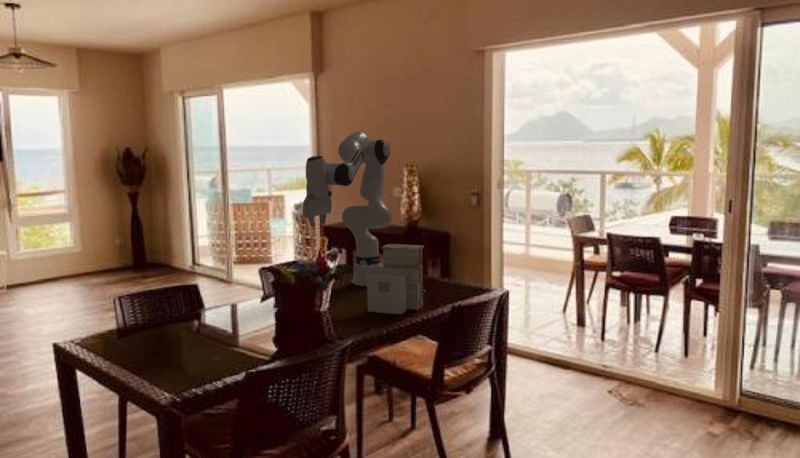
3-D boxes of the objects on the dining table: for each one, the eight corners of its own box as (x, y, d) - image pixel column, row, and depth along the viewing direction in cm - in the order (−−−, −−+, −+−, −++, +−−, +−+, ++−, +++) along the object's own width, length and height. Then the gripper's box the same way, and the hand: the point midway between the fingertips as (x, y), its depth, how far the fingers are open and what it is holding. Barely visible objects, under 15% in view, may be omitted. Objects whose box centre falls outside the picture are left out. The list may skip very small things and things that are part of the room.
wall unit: (389, 302, 264) (388, 244, 261) (424, 305, 259) (423, 245, 256) (382, 307, 257) (381, 246, 254) (418, 310, 252) (417, 248, 248)
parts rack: (372, 307, 257) (371, 270, 255) (408, 310, 252) (407, 272, 249) (366, 311, 251) (365, 273, 248) (402, 314, 245) (401, 276, 243)
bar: (353, 272, 252) (353, 265, 252) (356, 270, 255) (356, 264, 255) (403, 275, 245) (402, 268, 244) (405, 273, 248) (405, 266, 247)
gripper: (311, 195, 251) (312, 228, 253) (333, 192, 270) (334, 222, 272) (298, 195, 253) (299, 228, 255) (321, 192, 272) (322, 222, 274)
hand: (317, 225), depth 263 cm, fingers open, 8 cm apart
